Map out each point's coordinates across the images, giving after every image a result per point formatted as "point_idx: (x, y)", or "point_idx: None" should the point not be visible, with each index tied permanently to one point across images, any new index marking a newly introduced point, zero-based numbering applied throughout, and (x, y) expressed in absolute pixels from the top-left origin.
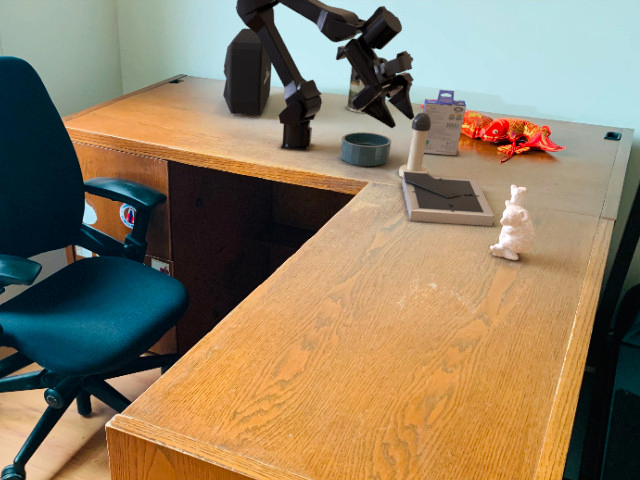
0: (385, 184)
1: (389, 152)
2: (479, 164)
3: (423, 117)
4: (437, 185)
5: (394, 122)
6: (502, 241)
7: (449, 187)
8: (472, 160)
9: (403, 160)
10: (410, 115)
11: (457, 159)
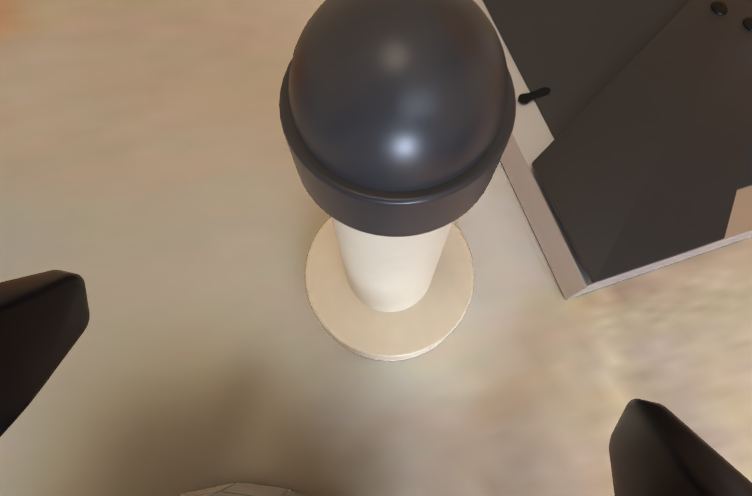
0: (625, 383)
1: (207, 492)
2: (71, 36)
3: (485, 19)
4: (670, 82)
5: (664, 426)
6: None
7: (626, 42)
8: (15, 70)
9: (137, 398)
10: (47, 323)
11: (20, 132)
